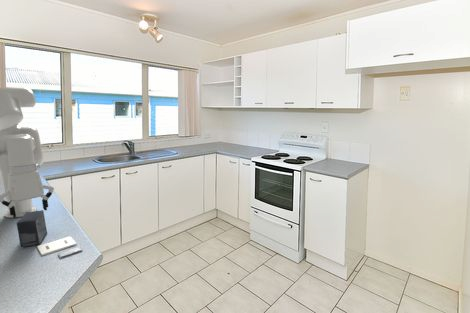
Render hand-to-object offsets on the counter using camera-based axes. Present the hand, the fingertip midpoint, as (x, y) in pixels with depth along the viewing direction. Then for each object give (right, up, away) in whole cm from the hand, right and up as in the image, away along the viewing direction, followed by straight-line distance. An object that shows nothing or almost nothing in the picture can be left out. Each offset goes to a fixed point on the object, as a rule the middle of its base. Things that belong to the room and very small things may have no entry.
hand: (30, 212), depth 105 cm
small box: (0, -12, +3) cm, 12 cm away
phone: (+19, -14, -6) cm, 25 cm away
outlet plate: (+11, -12, -2) cm, 17 cm away
